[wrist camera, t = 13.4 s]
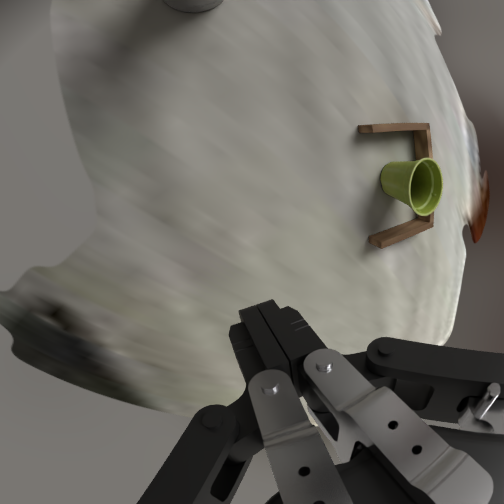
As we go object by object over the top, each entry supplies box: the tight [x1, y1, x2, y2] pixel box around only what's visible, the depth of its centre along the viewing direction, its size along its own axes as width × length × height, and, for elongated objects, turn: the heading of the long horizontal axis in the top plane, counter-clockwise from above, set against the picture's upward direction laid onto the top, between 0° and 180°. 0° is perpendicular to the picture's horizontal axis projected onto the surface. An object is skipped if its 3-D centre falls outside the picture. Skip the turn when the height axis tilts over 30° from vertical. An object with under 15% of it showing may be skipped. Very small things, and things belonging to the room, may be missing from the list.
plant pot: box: [381, 158, 443, 216], centre depth 39 cm, size 9×9×9 cm
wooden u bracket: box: [358, 123, 434, 249], centre depth 42 cm, size 20×15×4 cm
